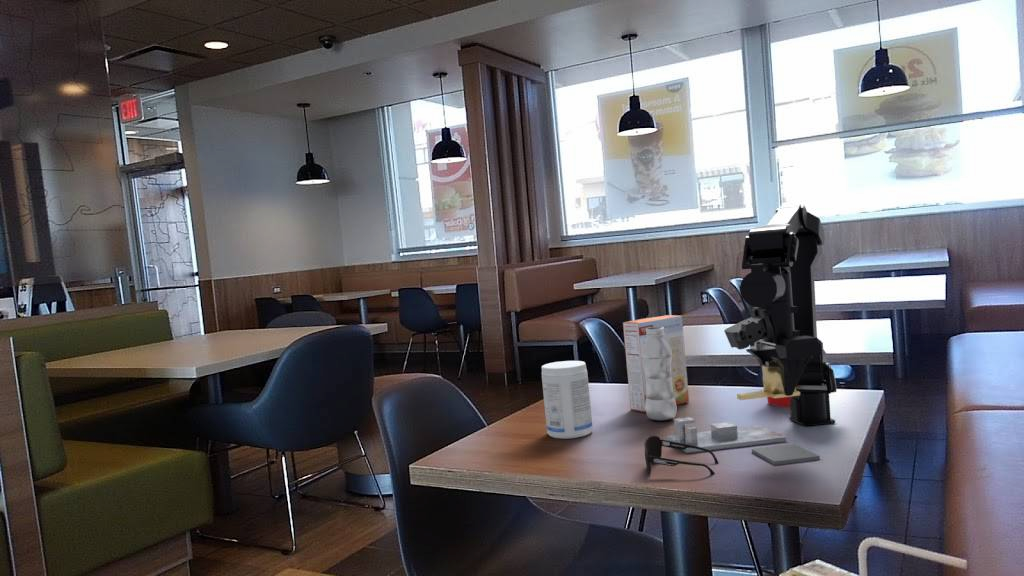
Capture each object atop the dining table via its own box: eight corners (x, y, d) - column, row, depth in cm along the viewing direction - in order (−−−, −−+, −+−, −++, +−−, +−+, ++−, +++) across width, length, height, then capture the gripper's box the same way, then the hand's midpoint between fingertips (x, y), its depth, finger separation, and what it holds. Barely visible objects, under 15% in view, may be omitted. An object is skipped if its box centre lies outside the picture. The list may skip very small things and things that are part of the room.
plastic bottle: (678, 422, 150) (671, 328, 149) (645, 423, 151) (638, 330, 150) (677, 415, 156) (670, 325, 155) (646, 416, 157) (639, 327, 157)
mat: (794, 447, 125) (794, 444, 125) (819, 459, 118) (819, 455, 117) (751, 452, 124) (751, 449, 124) (774, 465, 117) (774, 461, 116)
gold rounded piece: (785, 390, 124) (783, 357, 123) (802, 395, 119) (800, 361, 118) (731, 396, 122) (729, 363, 122) (747, 402, 117) (744, 367, 117)
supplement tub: (589, 426, 153) (584, 358, 152) (596, 437, 143) (590, 365, 143) (544, 430, 152) (539, 362, 152) (548, 441, 143) (542, 369, 142)
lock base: (760, 429, 139) (758, 404, 139) (785, 441, 129) (784, 415, 129) (667, 439, 137) (665, 414, 137) (686, 453, 127) (684, 426, 127)
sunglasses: (650, 458, 127) (652, 430, 126) (719, 469, 122) (721, 440, 122) (637, 476, 117) (639, 446, 117) (711, 489, 113) (713, 458, 112)
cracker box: (671, 399, 173) (665, 314, 172) (690, 402, 168) (683, 315, 167) (628, 410, 166) (621, 321, 165) (646, 413, 161) (639, 321, 160)
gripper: (707, 302, 128) (713, 388, 129) (754, 308, 110) (761, 408, 110) (765, 297, 130) (771, 381, 130) (822, 302, 111) (828, 400, 112)
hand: (780, 392), depth 121 cm, fingers closed on gold rounded piece, 5 cm apart
